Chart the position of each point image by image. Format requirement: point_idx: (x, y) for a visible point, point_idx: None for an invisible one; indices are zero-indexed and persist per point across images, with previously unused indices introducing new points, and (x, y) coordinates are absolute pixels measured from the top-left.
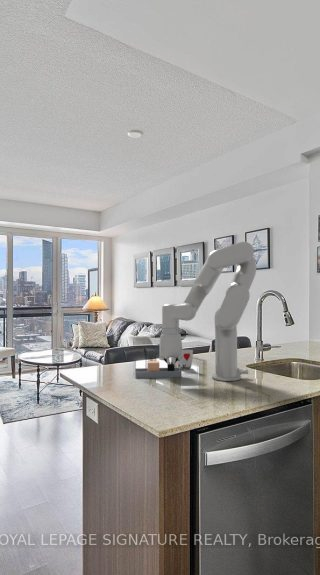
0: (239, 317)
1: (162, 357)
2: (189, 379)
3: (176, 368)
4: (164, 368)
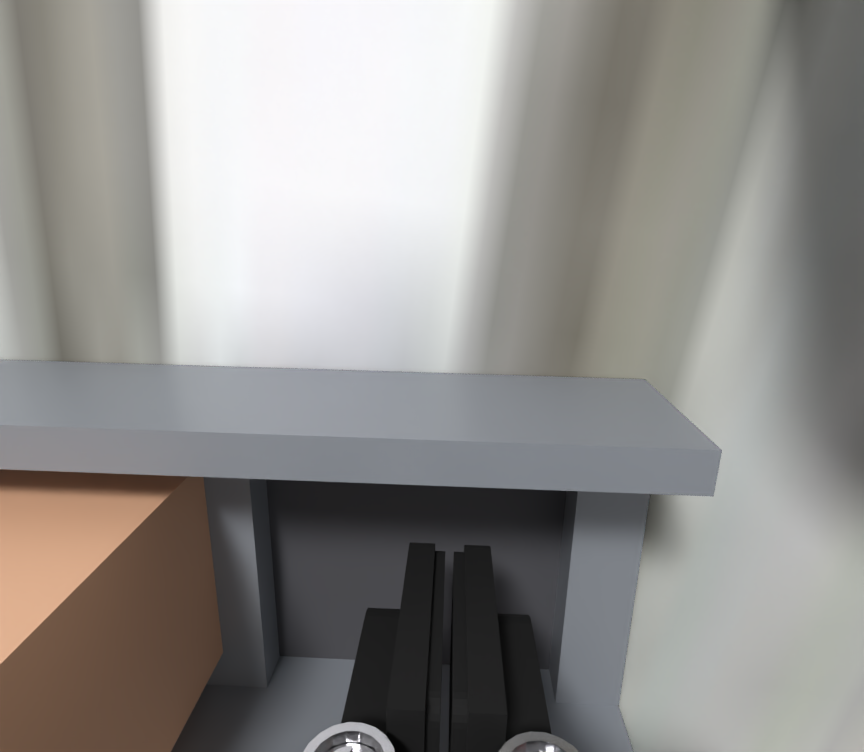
0: None
1: None
2: (738, 691)
3: (629, 482)
4: (296, 478)
